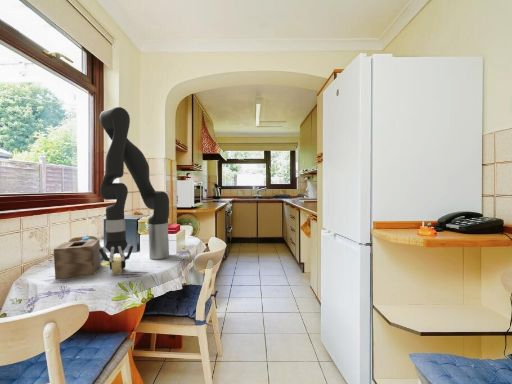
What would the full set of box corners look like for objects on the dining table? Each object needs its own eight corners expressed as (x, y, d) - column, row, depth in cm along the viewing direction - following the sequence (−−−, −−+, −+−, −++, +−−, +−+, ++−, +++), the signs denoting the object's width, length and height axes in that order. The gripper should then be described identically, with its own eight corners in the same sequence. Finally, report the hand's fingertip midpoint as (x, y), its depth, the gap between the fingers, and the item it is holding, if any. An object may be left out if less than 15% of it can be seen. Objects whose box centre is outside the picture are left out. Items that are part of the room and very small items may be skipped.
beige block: (123, 268, 127) (122, 257, 127) (121, 273, 121) (120, 262, 120) (114, 269, 126) (114, 258, 126) (112, 274, 120) (111, 263, 119)
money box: (100, 264, 134) (99, 239, 133) (94, 274, 121) (92, 246, 120) (65, 268, 130) (64, 242, 129) (55, 278, 116) (53, 249, 116)
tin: (67, 253, 156) (66, 238, 156) (68, 252, 159) (67, 237, 159) (98, 250, 162) (98, 235, 162) (99, 249, 165) (98, 234, 165)
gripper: (134, 227, 128) (136, 265, 129) (99, 229, 124) (101, 269, 125) (133, 230, 121) (134, 270, 122) (95, 232, 117) (97, 274, 118)
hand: (117, 269), depth 124 cm, fingers closed on beige block, 3 cm apart
